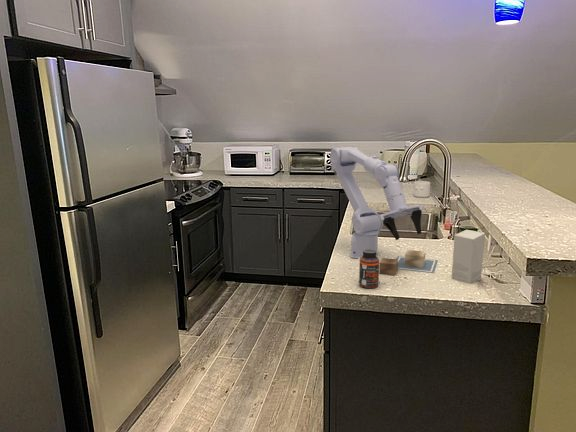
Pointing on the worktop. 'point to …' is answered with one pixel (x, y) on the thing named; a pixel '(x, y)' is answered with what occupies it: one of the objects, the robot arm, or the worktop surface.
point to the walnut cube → (388, 266)
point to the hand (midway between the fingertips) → (408, 236)
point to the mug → (421, 189)
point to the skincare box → (468, 256)
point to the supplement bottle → (369, 269)
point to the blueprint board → (427, 267)
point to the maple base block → (415, 258)
